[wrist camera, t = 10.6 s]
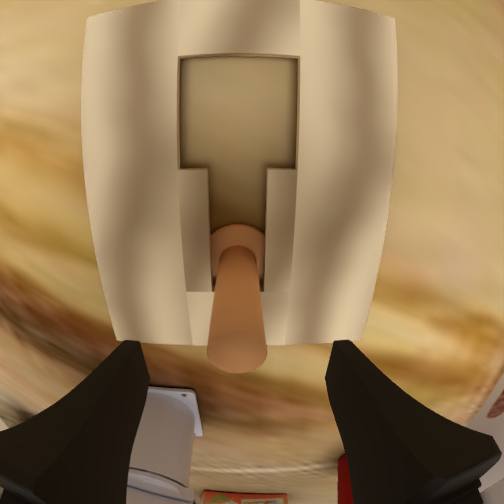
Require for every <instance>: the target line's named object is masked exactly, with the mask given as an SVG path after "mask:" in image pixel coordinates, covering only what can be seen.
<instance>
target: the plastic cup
mask: <svg viewBox="0 0 504 504" xmlns="http://www.w3.org/2000/svg"><path fill="white" fill-rule="evenodd" d="M338 504H353V497H352V489H351V481H350V474H349V469H348V463H347V457H346V454H345V455H343V456H342V457H341V458H340V459H339V460H338Z"/></svg>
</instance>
